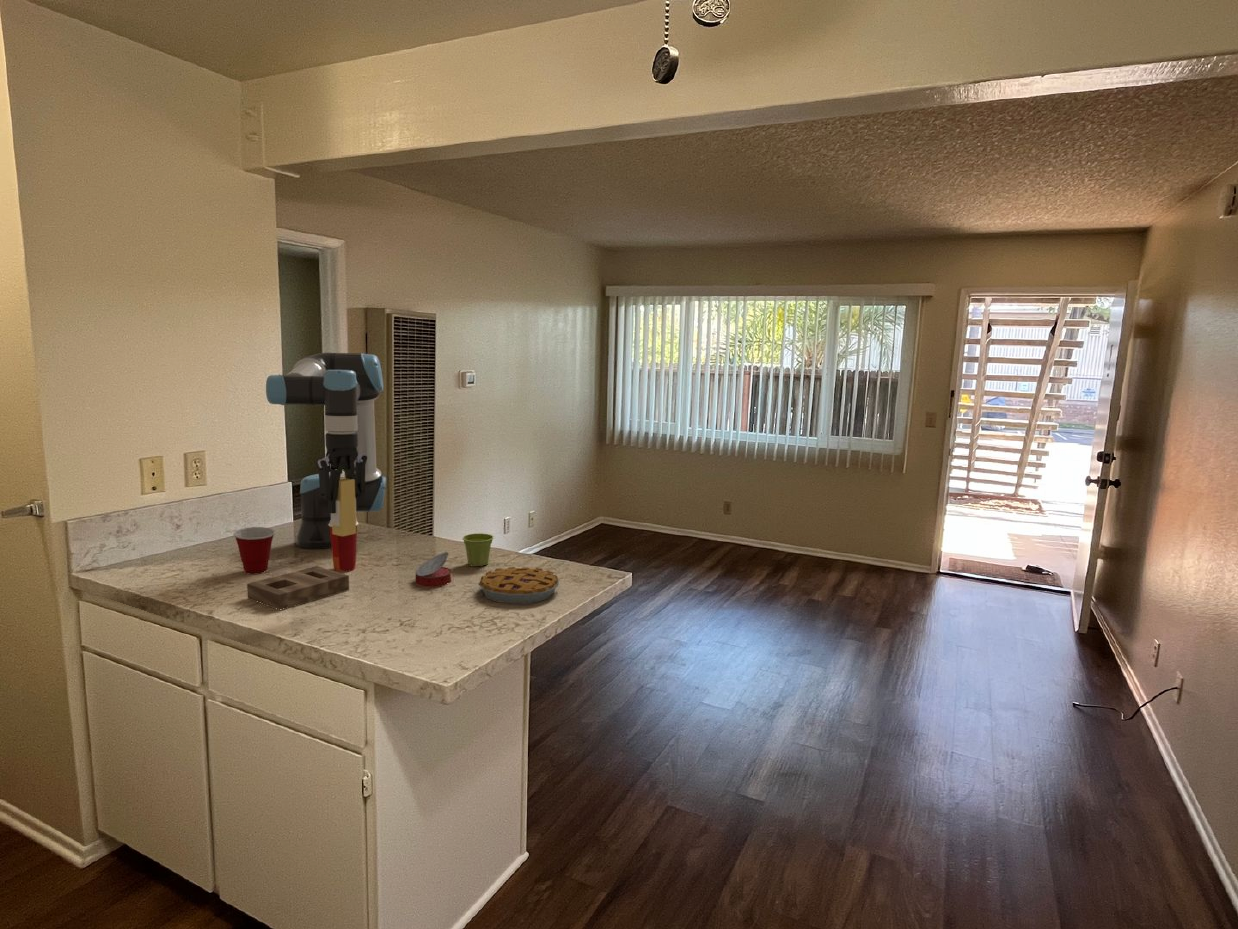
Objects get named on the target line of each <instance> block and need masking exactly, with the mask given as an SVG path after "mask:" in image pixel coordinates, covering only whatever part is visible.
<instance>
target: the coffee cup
mask: <svg viewBox="0 0 1238 929" xmlns="http://www.w3.org/2000/svg"><path fill="white" fill-rule="evenodd" d="M328 525H329V526H330V534H331V545H332V547H331V555H332V563H333V565H332V566H333V571H335V570H336V571H335V572H338V571H343V573H345V572H344V571H347V572H350V571H349V570H352V571H353V570H355V569H356V563H357V544H358V542H357V541H358V540H357V539H358V525H359V522H358V519H357V518H356V534H351V535H347V536H343V537H342V536H338V535H334V534H332V525H331V521H330V523H329V524H328Z"/></svg>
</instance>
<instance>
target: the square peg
mask: <svg viewBox="0 0 1238 929" xmlns="http://www.w3.org/2000/svg"><path fill="white" fill-rule="evenodd" d="M337 500H340V526H334V525H332V534H334V535H338V536H342V537H343V536H347V535H351V534H356V519H357V513H356V514H355V480H354V479H348V478H340V481H339V488H338V495H337Z"/></svg>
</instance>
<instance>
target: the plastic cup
mask: <svg viewBox="0 0 1238 929" xmlns="http://www.w3.org/2000/svg"><path fill="white" fill-rule="evenodd" d="M275 534H276V530H275V529H273V528H270V527H266V526H251V527H250V526H249V527H243V528H240V529H237V530H235V531H234V532H233V534H232V535H233V536H234V538H235V541H236V544H237V547H238V551H239V556H240V560H241V563H242V566H243V571H244V573H245V572H246V573H245V574H247V573H250V574H249V575H256V574H255V573H259V574H262V573H261V572H263V573H265V572H267V571H266V570H268V568H269V561H270V555H271V548H272V542H273V538H274V536H275ZM264 571H265V572H264Z"/></svg>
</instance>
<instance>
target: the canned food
mask: <svg viewBox="0 0 1238 929" xmlns="http://www.w3.org/2000/svg"><path fill="white" fill-rule="evenodd" d="M448 556H449V553H448V551H445V552H441V553H439V554H437V555H435V556H434V557H432V558H430V559H428V560H427V561H425V562H424V563H422V564H421V565H419V566H418V568H417V569H416V571H415V584H416V585H417V584H418V586H420V587H423V588H424V587H426V588H436V587H437V588H438V587H443V586H446V585H445V584H447V583H449V584H450V583H451V582H452V570H451V569H450V568H448V567H444V565H445V564H446V562H447V559H448ZM442 585H443V586H442ZM447 585H448V584H447Z"/></svg>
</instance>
